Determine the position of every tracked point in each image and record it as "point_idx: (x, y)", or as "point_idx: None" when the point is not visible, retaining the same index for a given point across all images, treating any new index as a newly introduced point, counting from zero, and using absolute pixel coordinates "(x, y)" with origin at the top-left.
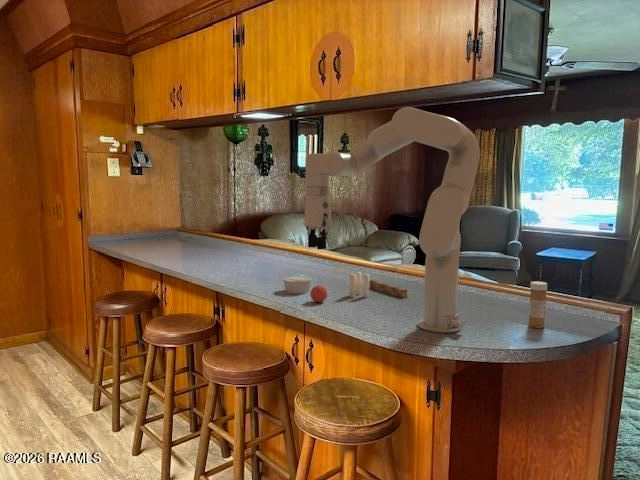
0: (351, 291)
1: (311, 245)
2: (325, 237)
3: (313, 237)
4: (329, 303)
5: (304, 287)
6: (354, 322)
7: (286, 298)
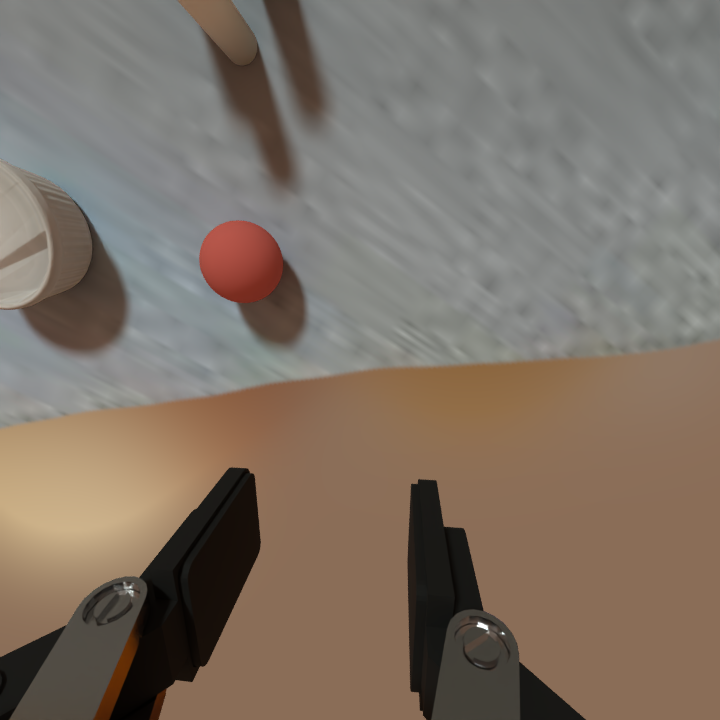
0: (237, 46)
1: (252, 539)
2: (449, 595)
3: (206, 596)
4: (297, 233)
5: (74, 233)
6: (591, 314)
7: (149, 343)
